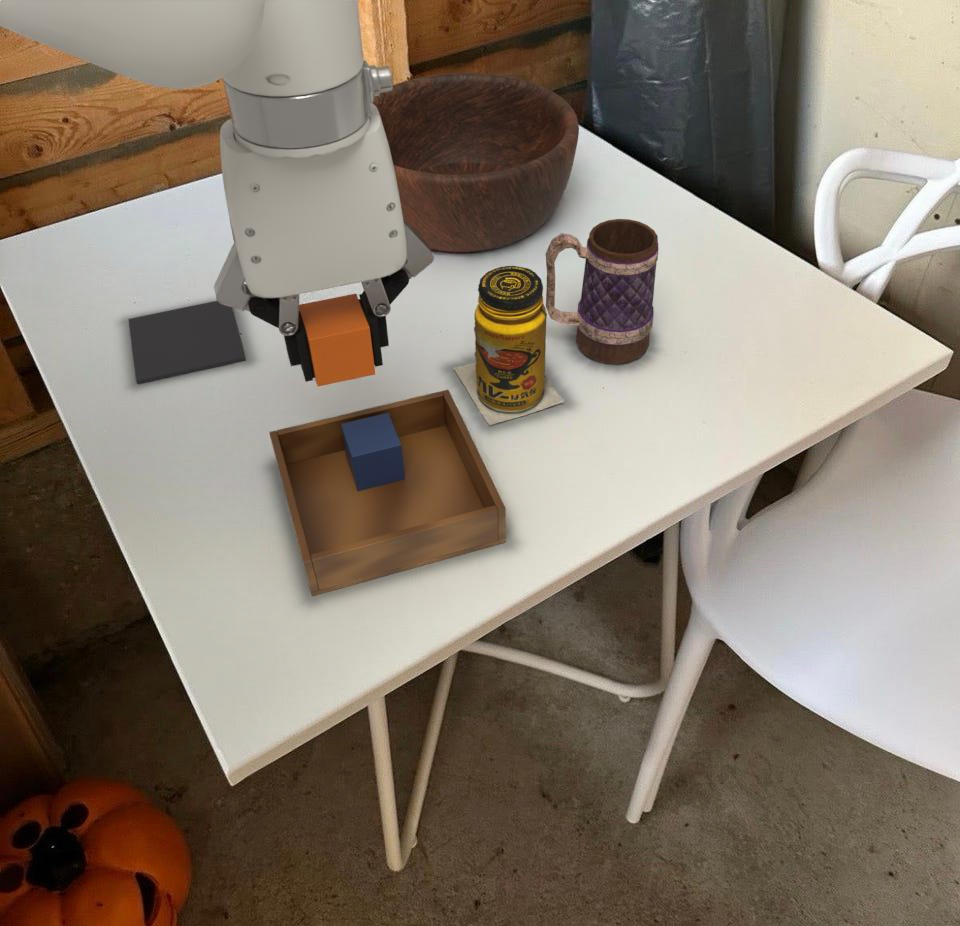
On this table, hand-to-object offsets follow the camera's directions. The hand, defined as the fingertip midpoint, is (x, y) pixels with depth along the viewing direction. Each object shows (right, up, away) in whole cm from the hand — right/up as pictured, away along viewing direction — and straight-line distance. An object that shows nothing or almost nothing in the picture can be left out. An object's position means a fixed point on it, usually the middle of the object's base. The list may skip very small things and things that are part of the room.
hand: (339, 359), depth 64 cm
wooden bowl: (+8, +22, +43) cm, 49 cm away
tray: (+2, -10, +11) cm, 15 cm away
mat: (-19, +5, +26) cm, 33 cm away
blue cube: (+1, -8, +13) cm, 15 cm away
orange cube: (0, 0, 0) cm, 0 cm away
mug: (+21, +4, +25) cm, 33 cm away
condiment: (+12, 0, +21) cm, 24 cm away
